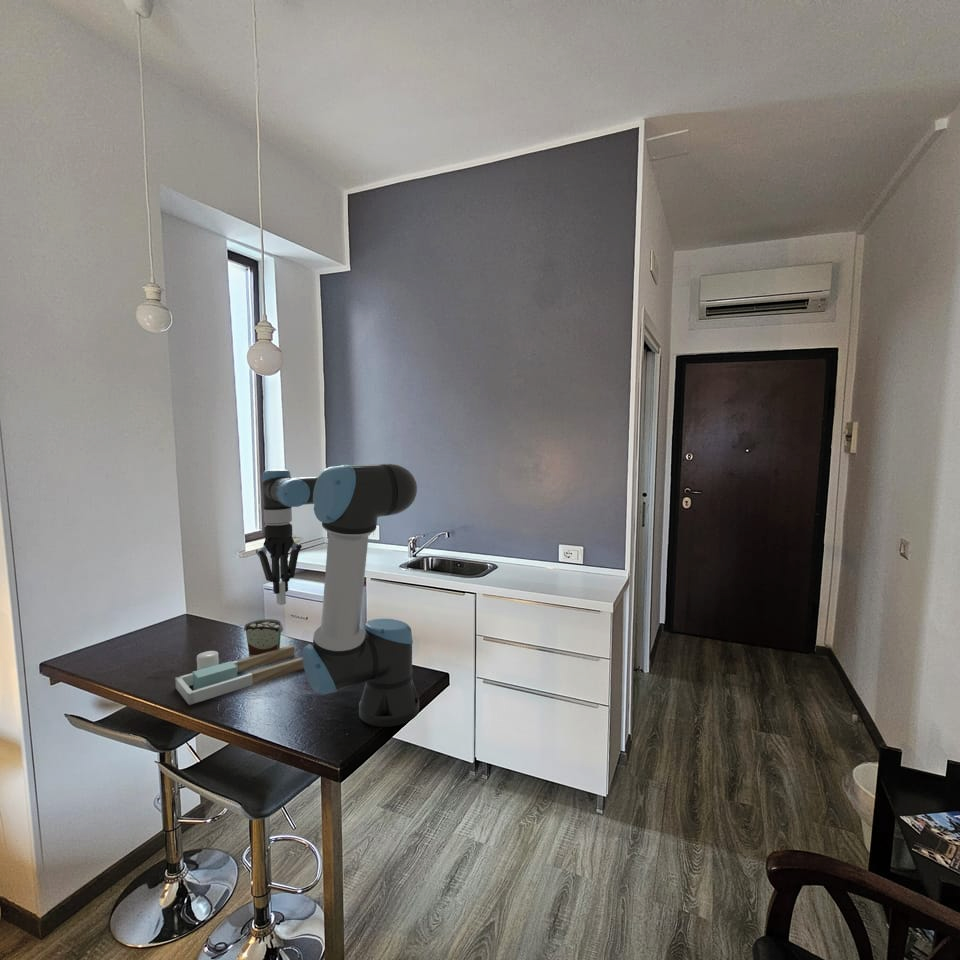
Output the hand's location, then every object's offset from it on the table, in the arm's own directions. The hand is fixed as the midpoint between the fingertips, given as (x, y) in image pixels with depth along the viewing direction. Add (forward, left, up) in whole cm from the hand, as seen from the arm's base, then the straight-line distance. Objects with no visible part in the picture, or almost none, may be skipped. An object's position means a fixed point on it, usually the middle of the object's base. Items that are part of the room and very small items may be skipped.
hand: (281, 603), depth 155 cm
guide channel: (+4, +1, -21) cm, 21 cm away
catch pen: (+4, +17, -21) cm, 27 cm away
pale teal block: (+4, +15, -21) cm, 26 cm away
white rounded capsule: (+13, +16, -21) cm, 30 cm away
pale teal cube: (+5, +20, -21) cm, 29 cm away
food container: (+17, -3, -21) cm, 27 cm away
